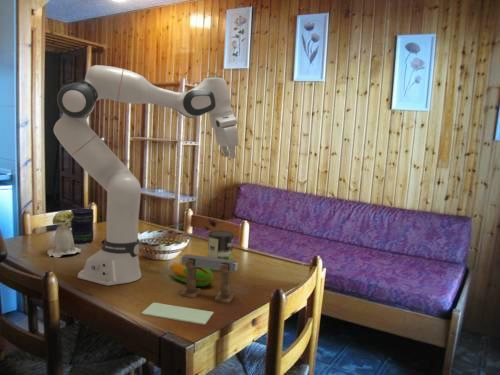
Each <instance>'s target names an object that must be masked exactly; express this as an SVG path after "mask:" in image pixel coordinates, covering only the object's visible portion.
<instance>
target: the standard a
mask: <svg viewBox="0 0 500 375" xmlns="http://www.w3.org/2000/svg"><path fill="white" fill-rule="evenodd" d="M193 262H194V260H186V267H187V283H186V287H185V289H183V290H182V291H181V292H180V296H182V297H189V298H196V297H197V296H198V295H199V293H201V292H202V289H201V288H200V287H198V288H197V286H196V267H193Z"/></svg>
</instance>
